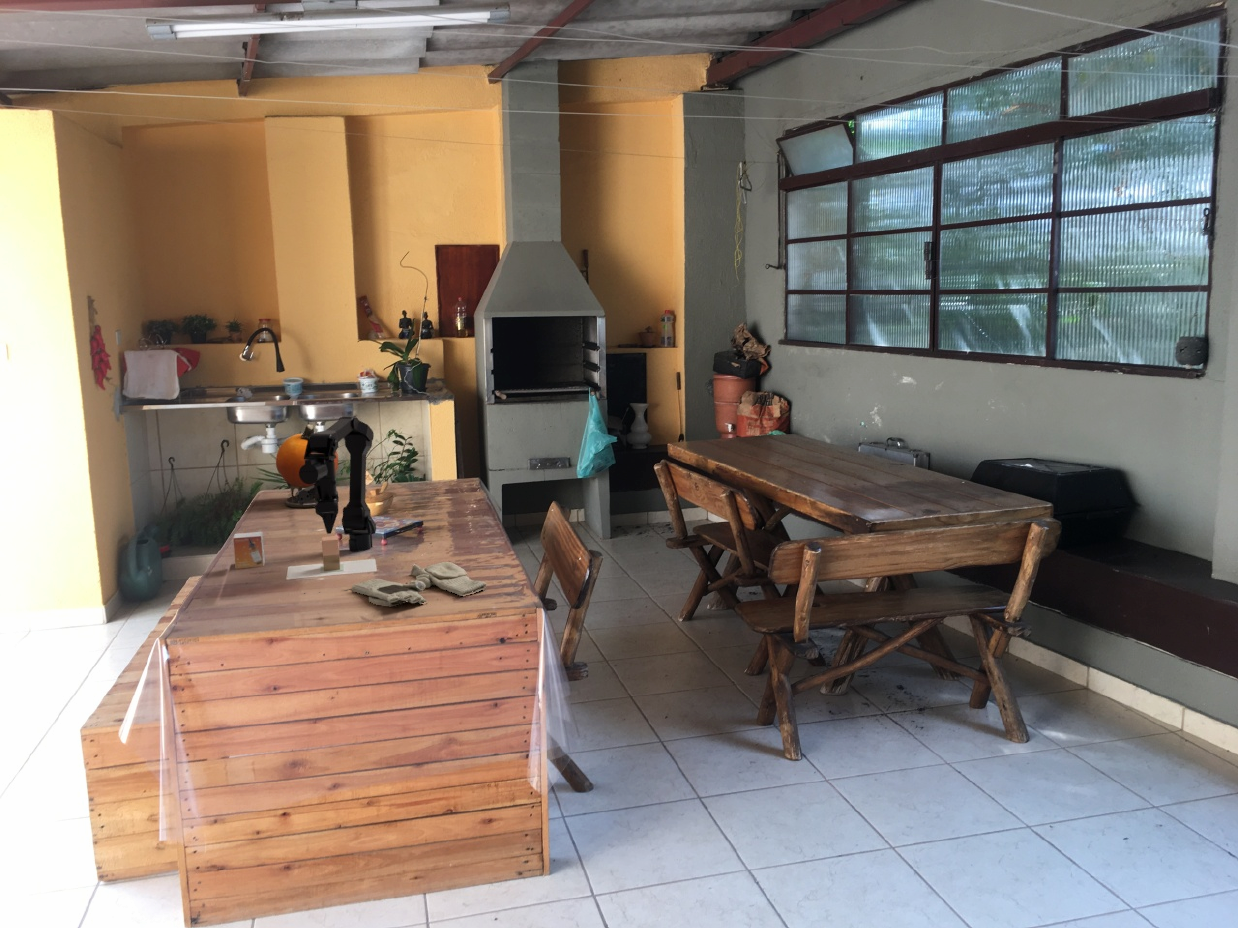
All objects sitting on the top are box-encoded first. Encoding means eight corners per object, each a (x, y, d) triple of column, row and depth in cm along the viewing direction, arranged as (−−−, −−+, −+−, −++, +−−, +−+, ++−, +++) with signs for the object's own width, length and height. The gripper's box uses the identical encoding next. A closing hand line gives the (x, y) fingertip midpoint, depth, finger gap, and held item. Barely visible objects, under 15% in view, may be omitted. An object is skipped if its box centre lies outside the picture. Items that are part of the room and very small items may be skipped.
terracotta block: (323, 551, 300) (321, 536, 299) (339, 550, 301) (337, 535, 300) (322, 555, 296) (321, 540, 295) (339, 554, 297) (337, 539, 296)
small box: (235, 572, 302) (232, 538, 299) (237, 567, 307) (234, 533, 305) (264, 570, 304) (261, 535, 302) (265, 564, 309) (262, 530, 307)
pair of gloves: (388, 616, 263) (387, 596, 262) (349, 591, 283) (348, 573, 282) (491, 592, 281) (490, 573, 280) (447, 570, 301) (446, 553, 300)
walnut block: (324, 566, 301) (323, 551, 300) (340, 565, 302) (338, 550, 301) (323, 570, 297) (322, 555, 296) (340, 569, 298) (338, 554, 297)
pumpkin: (274, 500, 393) (268, 423, 388) (333, 493, 404) (328, 417, 398) (285, 512, 374) (278, 431, 368) (347, 504, 385) (341, 425, 379)
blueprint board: (375, 562, 309) (375, 558, 309) (377, 575, 297) (376, 570, 296) (288, 570, 303) (288, 565, 302) (286, 583, 290) (286, 578, 290)
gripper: (296, 472, 301) (301, 524, 304) (294, 485, 283) (299, 540, 286) (336, 469, 304) (340, 521, 307) (336, 482, 286) (340, 536, 289)
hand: (329, 529), depth 297 cm, fingers open, 9 cm apart
